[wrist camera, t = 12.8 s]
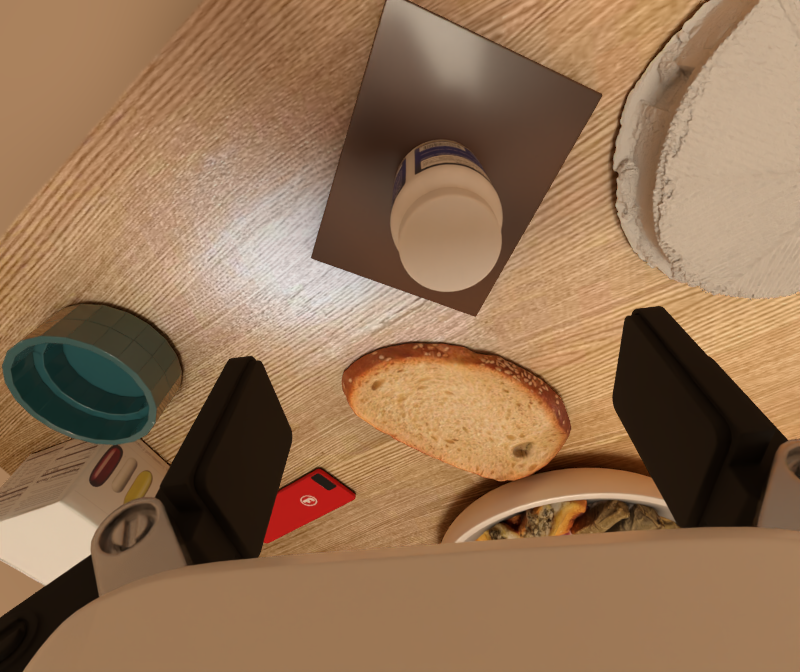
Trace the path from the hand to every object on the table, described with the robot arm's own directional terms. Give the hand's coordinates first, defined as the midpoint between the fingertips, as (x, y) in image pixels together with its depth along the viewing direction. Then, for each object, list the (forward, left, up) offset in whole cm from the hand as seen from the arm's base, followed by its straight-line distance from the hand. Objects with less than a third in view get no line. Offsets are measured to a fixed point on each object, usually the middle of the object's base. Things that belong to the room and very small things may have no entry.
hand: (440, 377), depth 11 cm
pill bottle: (0, +1, -20) cm, 20 cm away
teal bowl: (+24, -19, -21) cm, 37 cm away
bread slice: (+18, +11, -21) cm, 30 cm away
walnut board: (0, +1, -21) cm, 21 cm away
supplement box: (+43, -17, -21) cm, 51 cm away
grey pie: (-10, +19, -21) cm, 30 cm away
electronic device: (+39, 0, -21) cm, 44 cm away
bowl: (+32, +31, -21) cm, 49 cm away
